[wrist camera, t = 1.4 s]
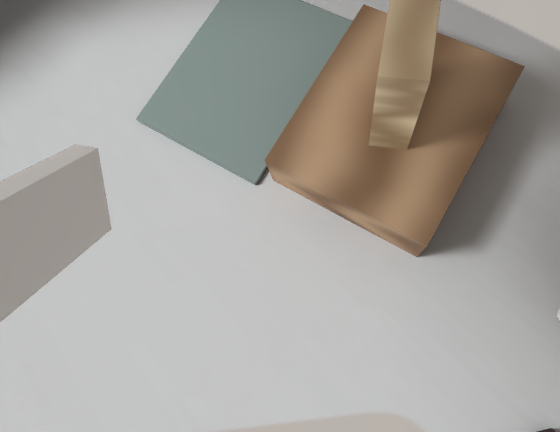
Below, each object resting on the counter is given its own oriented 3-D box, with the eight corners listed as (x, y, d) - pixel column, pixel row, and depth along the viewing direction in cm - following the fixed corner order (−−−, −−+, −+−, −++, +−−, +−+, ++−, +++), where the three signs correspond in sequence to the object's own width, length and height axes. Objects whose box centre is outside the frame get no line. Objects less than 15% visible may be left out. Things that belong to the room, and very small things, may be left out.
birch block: (368, 145, 29) (377, 76, 21) (379, 79, 30) (391, -8, 23) (407, 149, 28) (430, 81, 21) (416, 83, 30) (441, -6, 22)
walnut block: (273, 180, 34) (264, 159, 30) (361, 40, 36) (363, 4, 32) (417, 257, 30) (427, 245, 27) (503, 98, 33) (524, 66, 29)
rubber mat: (138, 121, 37) (136, 118, 36) (238, -21, 39) (237, -25, 39) (255, 185, 34) (254, 183, 33) (356, 26, 36) (356, 23, 36)
